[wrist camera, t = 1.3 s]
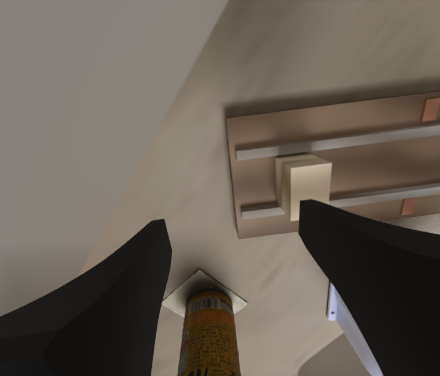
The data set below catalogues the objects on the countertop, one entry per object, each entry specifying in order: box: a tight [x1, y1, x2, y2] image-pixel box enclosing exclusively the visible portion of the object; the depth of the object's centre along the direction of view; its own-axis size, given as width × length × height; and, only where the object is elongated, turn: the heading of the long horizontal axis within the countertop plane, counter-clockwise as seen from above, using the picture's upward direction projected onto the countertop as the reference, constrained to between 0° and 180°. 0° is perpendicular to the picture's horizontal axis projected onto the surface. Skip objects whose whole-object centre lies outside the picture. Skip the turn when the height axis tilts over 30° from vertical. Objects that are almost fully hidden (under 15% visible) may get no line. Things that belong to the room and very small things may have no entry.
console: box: [225, 91, 440, 239], centre depth 20 cm, size 12×24×2 cm, turn 97°
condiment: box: [162, 270, 248, 376], centre depth 21 cm, size 7×8×12 cm
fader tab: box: [275, 153, 332, 221], centre depth 17 cm, size 4×3×4 cm
